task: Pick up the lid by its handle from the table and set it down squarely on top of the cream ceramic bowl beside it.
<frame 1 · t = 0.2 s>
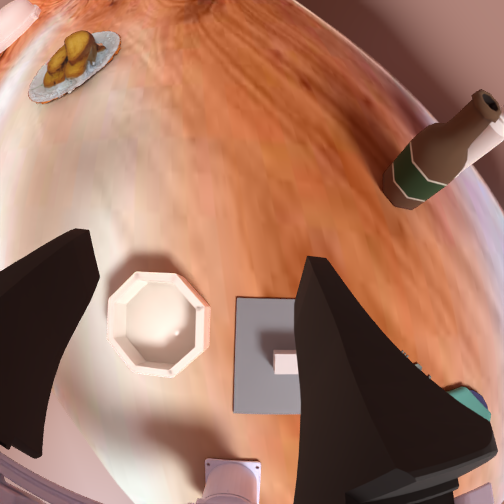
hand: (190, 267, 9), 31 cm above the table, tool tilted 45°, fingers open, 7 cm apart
dome cover: (12, 33, 60), on the table
bowl: (163, 323, 39), on the table
beer bottle: (401, 189, 42), on the table
food on plate: (75, 69, 50), on the table
lid: (294, 357, 38), on the table
bottle: (443, 169, 43), on the table
cutlery set: (427, 428, 35), on the table
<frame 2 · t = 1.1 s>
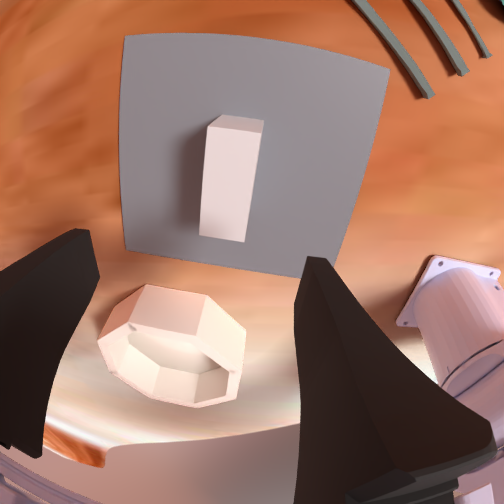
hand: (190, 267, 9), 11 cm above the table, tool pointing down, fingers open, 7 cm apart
bowl: (178, 336, 28), on the table
lid: (238, 159, 19), on the table
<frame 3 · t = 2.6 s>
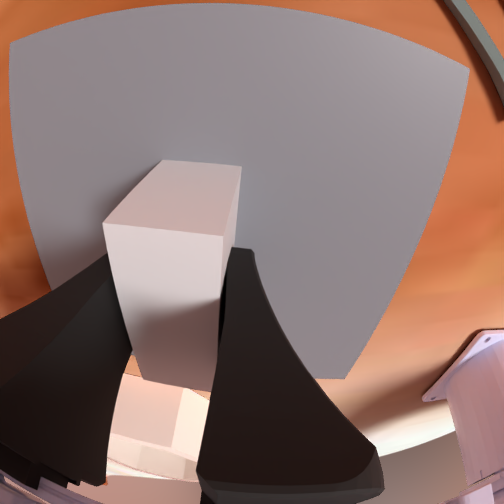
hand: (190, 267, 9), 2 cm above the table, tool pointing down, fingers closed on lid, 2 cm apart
bowl: (158, 415, 21), on the table
lid: (204, 229, 11), on the table, touching gripper
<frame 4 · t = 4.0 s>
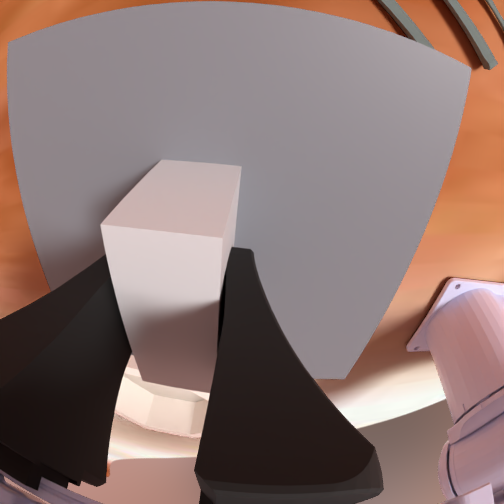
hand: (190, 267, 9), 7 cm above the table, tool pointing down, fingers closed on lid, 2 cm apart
bowl: (169, 367, 25), on the table
lid: (203, 229, 11), point 5 cm above the table, touching gripper
when the fingers open (8 cm above the table, at t = 6.6 s): lid stays where it is, resting on bowl.
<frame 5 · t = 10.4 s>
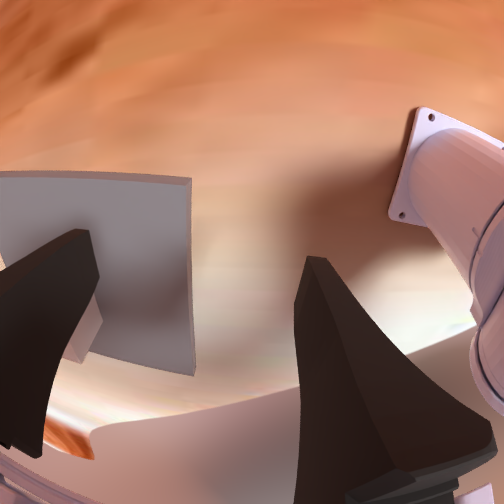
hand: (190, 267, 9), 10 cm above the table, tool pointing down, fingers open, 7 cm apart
lid: (85, 278, 18), point 4 cm above the table, touching bowl
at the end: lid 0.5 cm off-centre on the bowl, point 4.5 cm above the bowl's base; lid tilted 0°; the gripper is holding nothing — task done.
